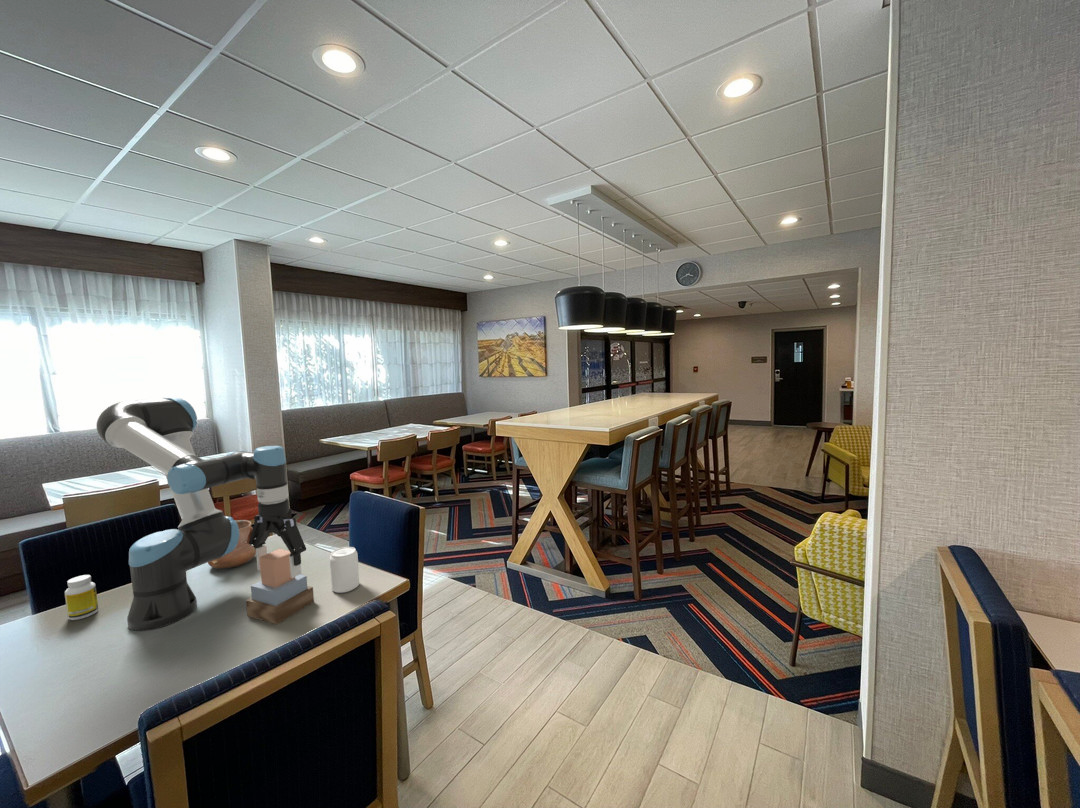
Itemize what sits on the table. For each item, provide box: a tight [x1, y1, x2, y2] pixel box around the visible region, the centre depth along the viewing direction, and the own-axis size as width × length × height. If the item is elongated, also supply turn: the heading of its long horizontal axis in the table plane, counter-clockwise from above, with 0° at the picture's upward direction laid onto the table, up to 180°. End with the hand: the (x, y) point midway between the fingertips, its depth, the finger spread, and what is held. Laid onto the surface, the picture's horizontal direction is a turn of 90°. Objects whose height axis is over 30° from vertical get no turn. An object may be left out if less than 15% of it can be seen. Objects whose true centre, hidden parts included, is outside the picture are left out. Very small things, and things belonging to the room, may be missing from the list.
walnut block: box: [245, 585, 315, 625], centre depth 128 cm, size 12×12×5 cm
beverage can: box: [329, 546, 360, 594], centre depth 139 cm, size 8×8×12 cm
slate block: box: [250, 573, 308, 606], centre depth 127 cm, size 10×10×4 cm
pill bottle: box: [64, 574, 99, 621], centre depth 126 cm, size 6×6×11 cm
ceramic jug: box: [207, 519, 256, 570], centre depth 158 cm, size 18×14×14 cm
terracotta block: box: [259, 548, 295, 588], centre depth 127 cm, size 6×6×8 cm
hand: (279, 571), depth 127 cm, fingers open, 13 cm apart
